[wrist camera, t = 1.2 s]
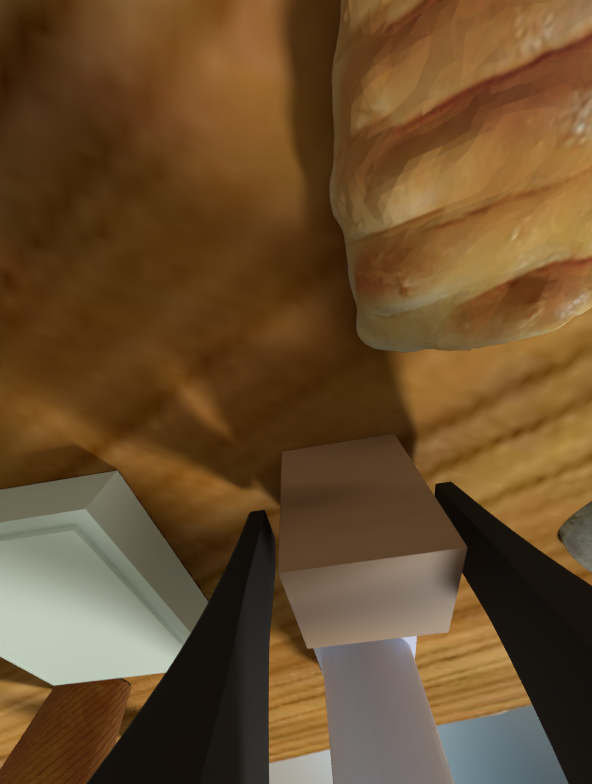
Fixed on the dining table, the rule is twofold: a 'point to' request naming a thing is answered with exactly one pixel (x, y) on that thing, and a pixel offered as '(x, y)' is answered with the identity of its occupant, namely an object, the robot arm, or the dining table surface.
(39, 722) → the disposable coffee cup
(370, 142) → the pastry
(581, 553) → the soupspoon
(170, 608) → the serving board
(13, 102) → the dining table surface
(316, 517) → the walnut block
